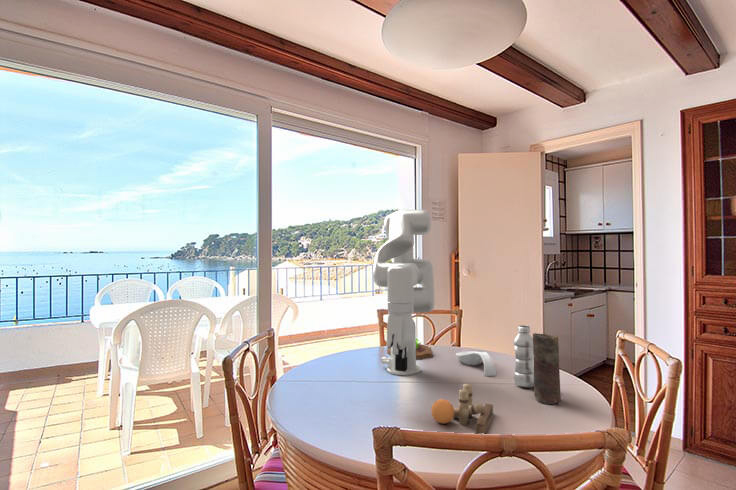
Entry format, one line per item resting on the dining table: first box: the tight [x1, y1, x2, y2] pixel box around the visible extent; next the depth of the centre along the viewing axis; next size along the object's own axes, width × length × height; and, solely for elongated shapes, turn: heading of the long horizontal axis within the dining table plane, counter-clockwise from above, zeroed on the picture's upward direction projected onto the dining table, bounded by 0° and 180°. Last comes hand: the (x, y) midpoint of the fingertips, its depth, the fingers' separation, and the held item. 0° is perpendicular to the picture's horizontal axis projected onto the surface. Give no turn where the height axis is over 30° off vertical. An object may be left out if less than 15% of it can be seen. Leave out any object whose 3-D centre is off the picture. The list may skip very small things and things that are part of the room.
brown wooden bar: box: [475, 403, 494, 434], centre depth 106 cm, size 2×14×2 cm, turn 155°
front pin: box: [453, 402, 484, 419], centre depth 108 cm, size 2×2×8 cm
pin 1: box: [462, 383, 473, 419], centre depth 110 cm, size 2×2×8 cm
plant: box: [386, 338, 434, 361], centre depth 177 cm, size 20×20×11 cm
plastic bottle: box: [513, 325, 534, 388], centre depth 134 cm, size 6×7×20 cm
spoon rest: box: [455, 350, 497, 377], centre depth 156 cm, size 24×12×7 cm, turn 9°
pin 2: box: [458, 389, 470, 426], centre depth 106 cm, size 2×2×8 cm
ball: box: [430, 398, 455, 425], centre depth 106 cm, size 6×6×6 cm
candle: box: [532, 332, 562, 405], centre depth 122 cm, size 8×7×20 cm
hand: (401, 369), depth 117 cm, fingers closed
